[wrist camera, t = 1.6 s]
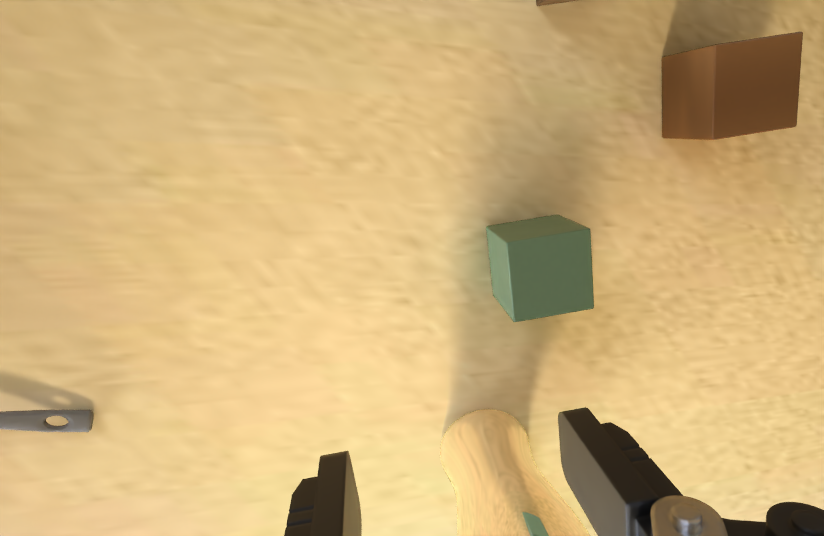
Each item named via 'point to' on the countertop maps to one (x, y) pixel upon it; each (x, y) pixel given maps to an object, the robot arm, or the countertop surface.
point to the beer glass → (501, 480)
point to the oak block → (732, 88)
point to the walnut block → (550, 2)
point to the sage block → (541, 267)
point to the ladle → (37, 420)
